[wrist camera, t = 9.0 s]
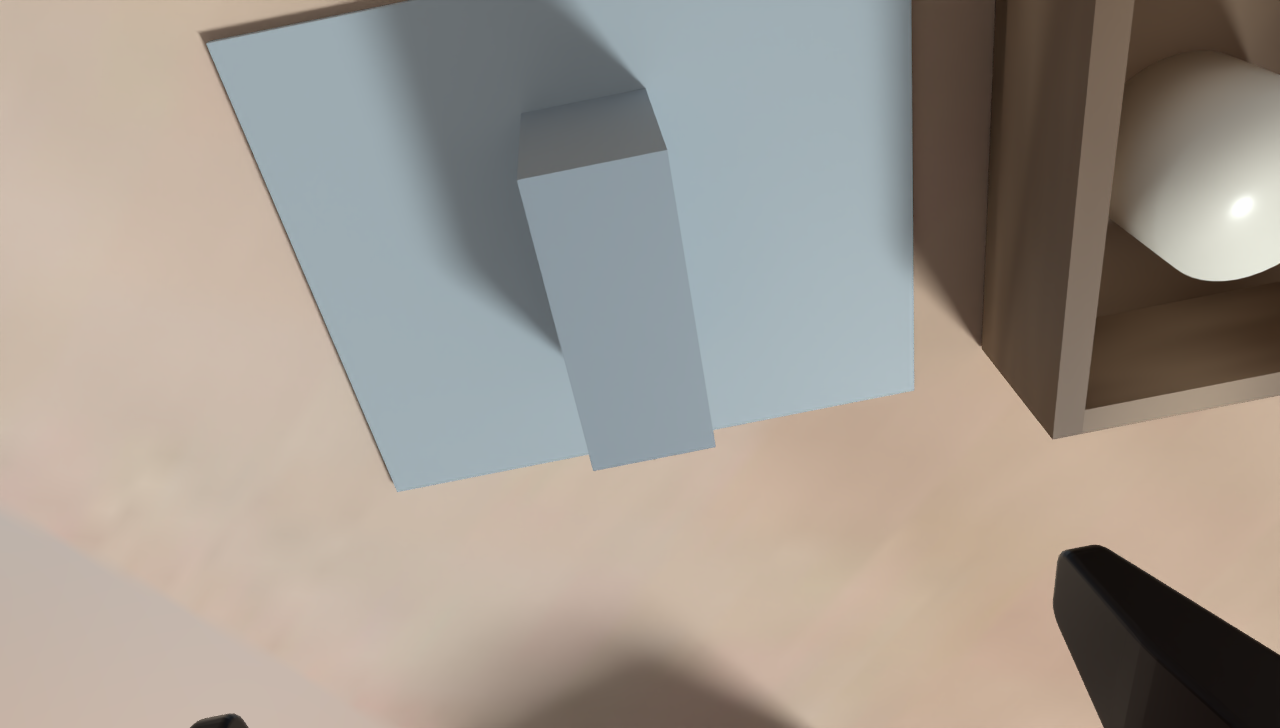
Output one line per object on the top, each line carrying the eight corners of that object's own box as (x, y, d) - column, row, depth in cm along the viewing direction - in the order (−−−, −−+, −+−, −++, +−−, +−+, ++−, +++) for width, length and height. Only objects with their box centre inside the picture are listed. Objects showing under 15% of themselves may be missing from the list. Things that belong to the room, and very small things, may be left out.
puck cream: (1279, 33, 17) (1387, 68, 15) (1241, 206, 19) (1332, 260, 17) (1091, 70, 17) (1171, 111, 15) (1074, 239, 19) (1142, 297, 17)
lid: (894, -106, 16) (995, -77, 13) (903, 372, 22) (973, 485, 18) (219, 33, 16) (129, 100, 13) (401, 470, 22) (374, 602, 19)
